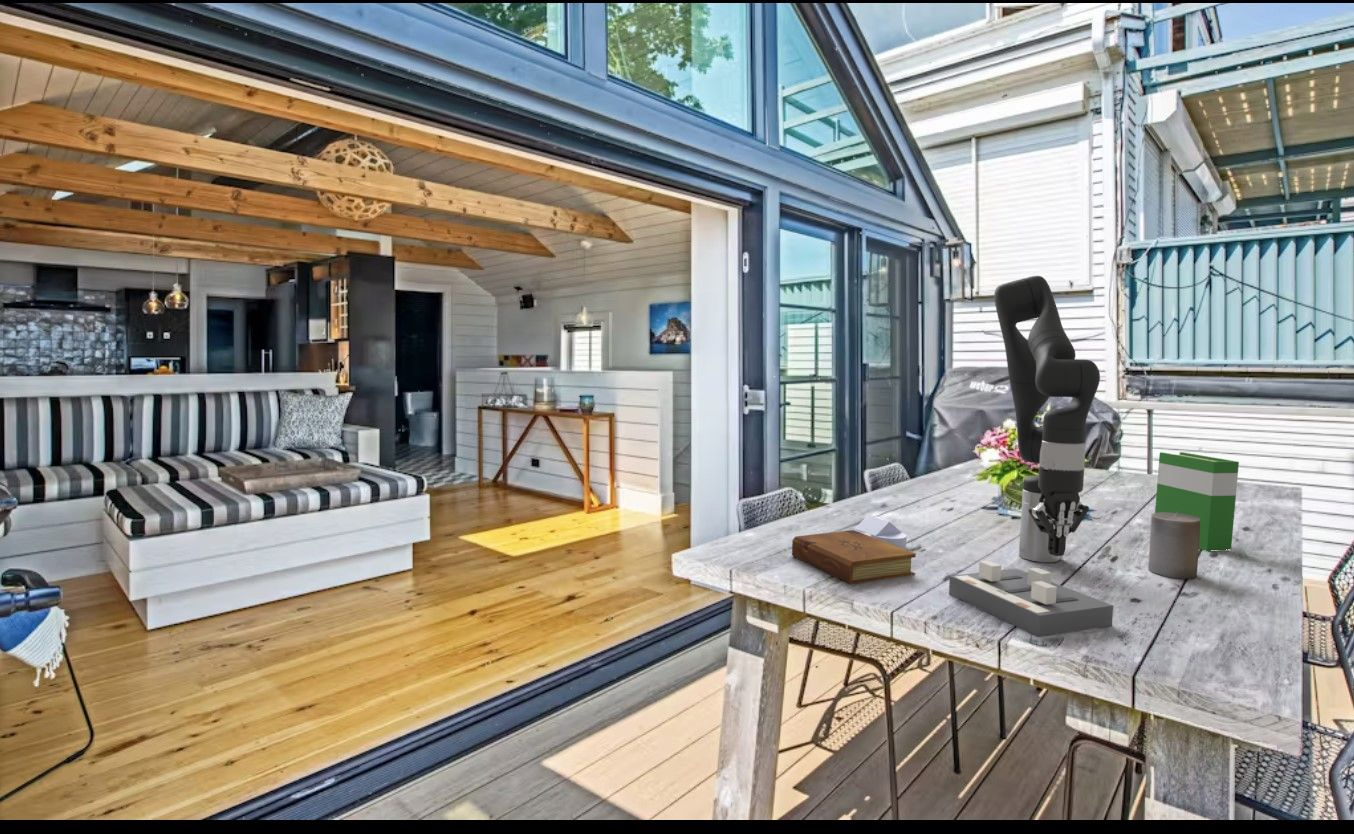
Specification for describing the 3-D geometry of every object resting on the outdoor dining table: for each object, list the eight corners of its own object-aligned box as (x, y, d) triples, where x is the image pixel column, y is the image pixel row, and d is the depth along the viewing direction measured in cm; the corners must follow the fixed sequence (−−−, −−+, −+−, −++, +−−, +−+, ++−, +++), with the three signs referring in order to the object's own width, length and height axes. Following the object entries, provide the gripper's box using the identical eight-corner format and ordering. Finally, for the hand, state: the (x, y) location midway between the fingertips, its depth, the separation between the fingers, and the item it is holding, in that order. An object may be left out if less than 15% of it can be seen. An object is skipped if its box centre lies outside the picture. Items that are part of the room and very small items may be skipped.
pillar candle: (1194, 571, 173) (1198, 509, 172) (1199, 581, 164) (1203, 517, 163) (1146, 565, 178) (1150, 505, 177) (1148, 575, 169) (1152, 512, 168)
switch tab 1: (987, 575, 153) (988, 560, 153) (1000, 580, 149) (1001, 565, 149) (978, 576, 152) (979, 561, 152) (991, 581, 149) (992, 566, 148)
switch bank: (1015, 586, 160) (1016, 567, 159) (1111, 625, 137) (1113, 604, 137) (948, 594, 154) (949, 575, 154) (1038, 636, 131) (1039, 614, 131)
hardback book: (1153, 534, 208) (1159, 452, 206) (1175, 533, 209) (1182, 452, 207) (1206, 551, 191) (1214, 462, 188) (1231, 550, 192) (1238, 461, 189)
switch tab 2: (1036, 582, 148) (1037, 567, 148) (1050, 588, 145) (1051, 573, 144) (1027, 584, 147) (1028, 568, 147) (1041, 589, 144) (1042, 574, 144)
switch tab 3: (1040, 597, 140) (1041, 580, 139) (1055, 603, 136) (1056, 586, 136) (1030, 598, 139) (1031, 582, 139) (1045, 604, 135) (1046, 588, 135)
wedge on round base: (854, 540, 197) (886, 552, 185) (855, 516, 196) (887, 527, 184) (880, 537, 201) (913, 549, 189) (881, 513, 200) (914, 524, 188)
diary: (791, 559, 180) (792, 536, 180) (852, 551, 188) (853, 530, 187) (849, 586, 159) (850, 561, 159) (914, 576, 167) (915, 552, 167)
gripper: (1071, 460, 141) (1066, 546, 143) (1018, 463, 137) (1013, 552, 139) (1105, 466, 134) (1099, 557, 136) (1050, 470, 130) (1045, 563, 132)
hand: (1056, 554), depth 137 cm, fingers closed
